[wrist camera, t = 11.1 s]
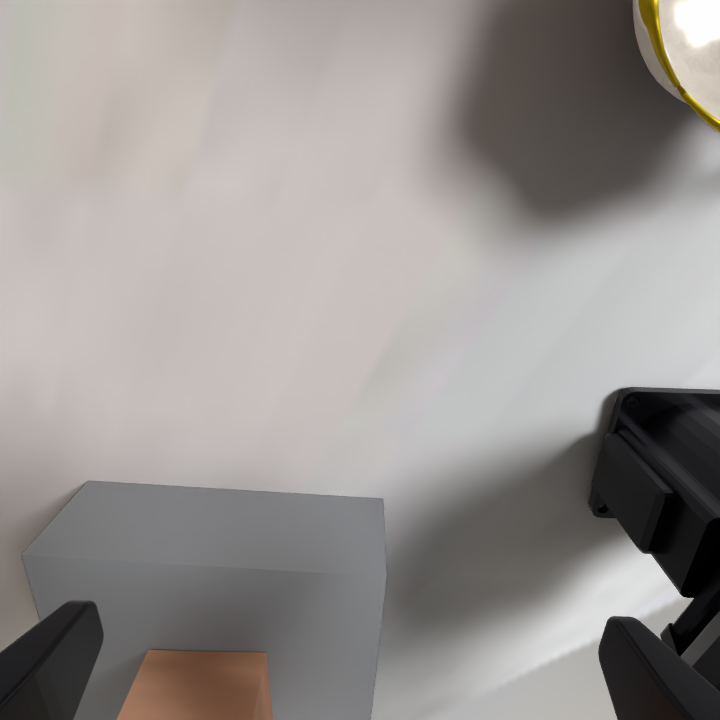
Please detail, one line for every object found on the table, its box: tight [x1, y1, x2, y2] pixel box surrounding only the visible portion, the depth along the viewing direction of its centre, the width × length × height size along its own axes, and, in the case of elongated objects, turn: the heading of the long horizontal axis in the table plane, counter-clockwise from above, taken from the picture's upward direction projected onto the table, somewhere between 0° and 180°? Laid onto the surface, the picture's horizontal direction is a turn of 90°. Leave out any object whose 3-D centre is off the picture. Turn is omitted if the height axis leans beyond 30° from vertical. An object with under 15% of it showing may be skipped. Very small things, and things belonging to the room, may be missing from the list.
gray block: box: [21, 481, 387, 720], centre depth 23 cm, size 14×14×5 cm
